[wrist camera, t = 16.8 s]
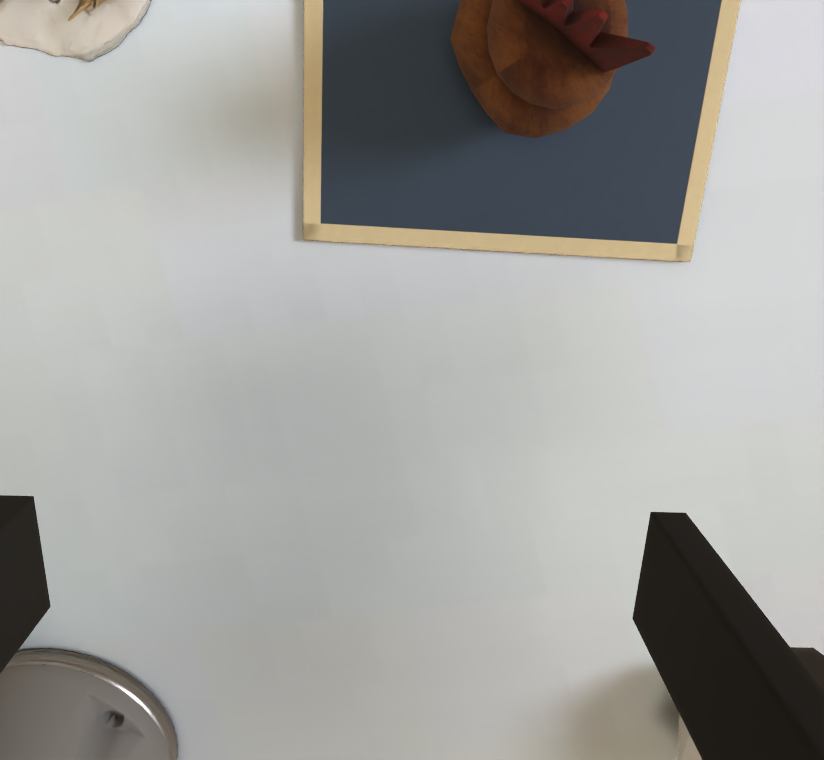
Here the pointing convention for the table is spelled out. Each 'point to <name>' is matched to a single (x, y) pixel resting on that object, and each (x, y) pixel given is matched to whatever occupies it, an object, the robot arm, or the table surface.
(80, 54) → the frog figurine
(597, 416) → the table surface
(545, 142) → the framed chalkboard
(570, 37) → the wooden figurine
